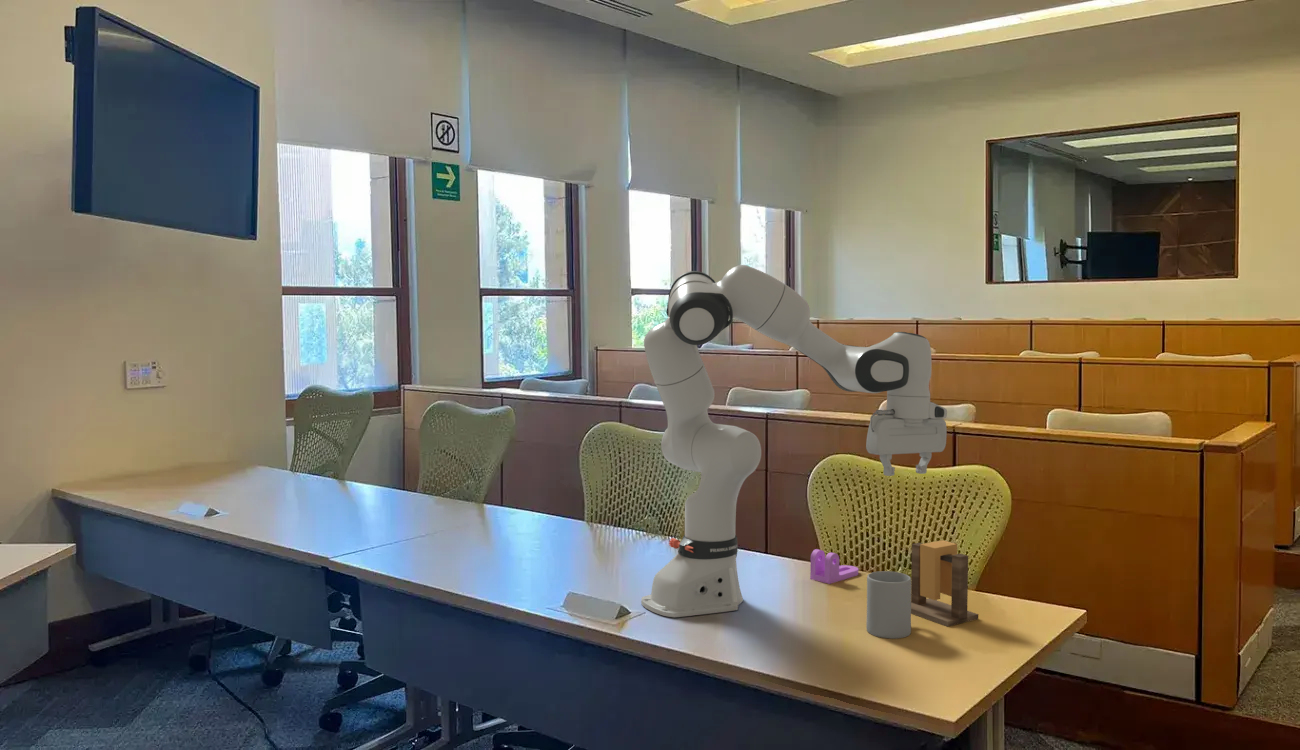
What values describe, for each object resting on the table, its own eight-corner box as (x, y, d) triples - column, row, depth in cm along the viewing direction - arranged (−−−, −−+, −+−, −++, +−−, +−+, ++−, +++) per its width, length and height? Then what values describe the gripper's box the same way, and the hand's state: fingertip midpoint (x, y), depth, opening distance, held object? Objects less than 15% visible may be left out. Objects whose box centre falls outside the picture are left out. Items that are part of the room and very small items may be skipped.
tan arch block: (934, 600, 193) (934, 548, 193) (920, 595, 197) (920, 544, 196) (956, 595, 196) (957, 544, 196) (942, 590, 200) (942, 540, 199)
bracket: (829, 584, 220) (829, 555, 219) (810, 579, 224) (810, 550, 223) (863, 574, 228) (863, 545, 228) (844, 569, 232) (844, 541, 232)
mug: (901, 641, 180) (902, 585, 180) (859, 633, 185) (860, 578, 185) (923, 624, 190) (923, 571, 190) (882, 617, 195) (883, 565, 194)
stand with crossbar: (947, 626, 189) (948, 559, 188) (899, 609, 200) (900, 546, 199) (978, 619, 194) (979, 553, 193) (930, 602, 205) (930, 540, 204)
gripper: (882, 411, 192) (879, 478, 192) (952, 409, 202) (949, 474, 203) (860, 408, 197) (858, 474, 198) (930, 407, 208) (927, 470, 208)
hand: (905, 474), depth 200 cm, fingers open, 8 cm apart
